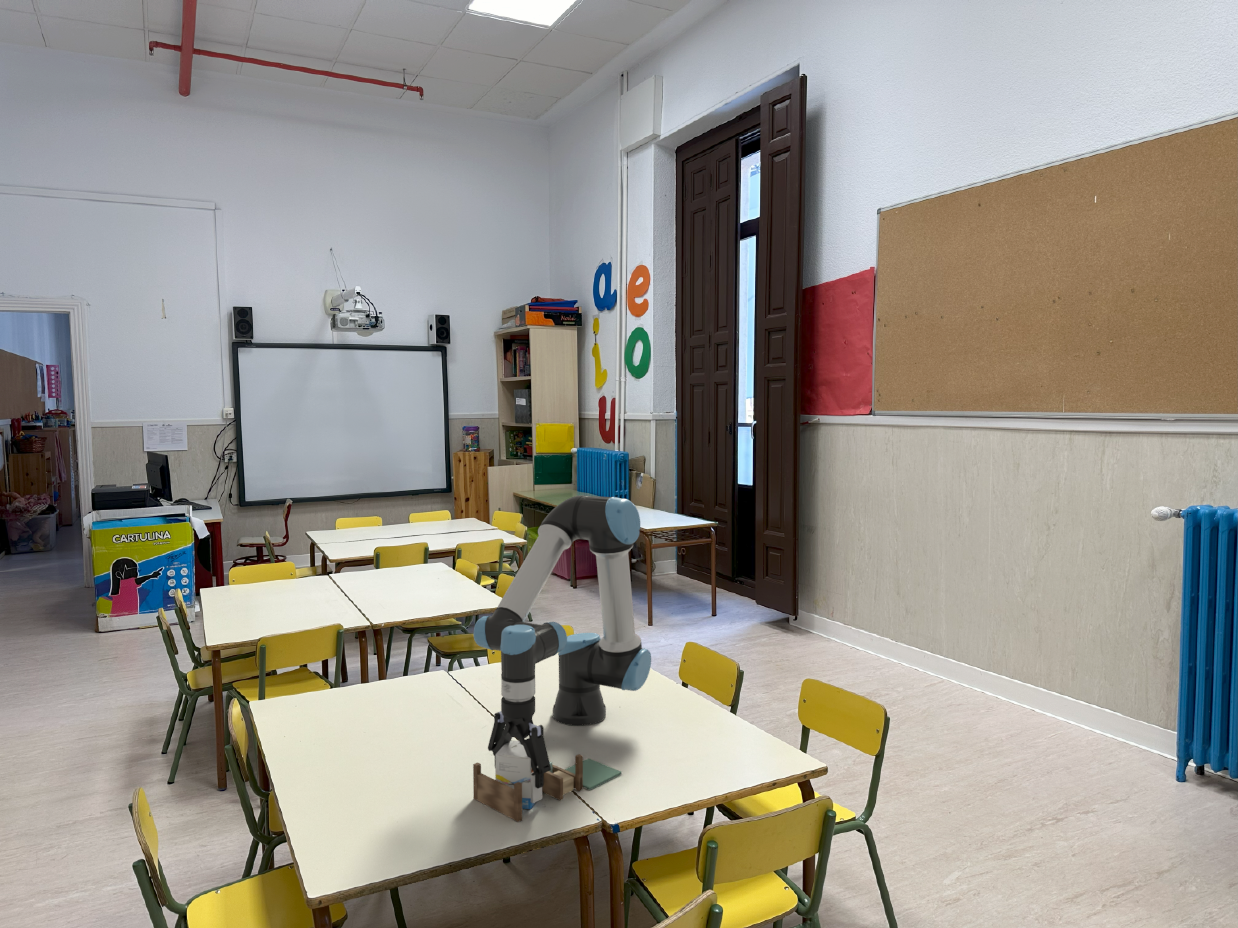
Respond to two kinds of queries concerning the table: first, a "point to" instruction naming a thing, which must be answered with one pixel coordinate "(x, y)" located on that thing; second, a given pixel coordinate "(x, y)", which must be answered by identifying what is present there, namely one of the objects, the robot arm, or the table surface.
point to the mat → (595, 773)
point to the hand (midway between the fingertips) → (518, 791)
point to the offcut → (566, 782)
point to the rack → (520, 789)
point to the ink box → (515, 769)
